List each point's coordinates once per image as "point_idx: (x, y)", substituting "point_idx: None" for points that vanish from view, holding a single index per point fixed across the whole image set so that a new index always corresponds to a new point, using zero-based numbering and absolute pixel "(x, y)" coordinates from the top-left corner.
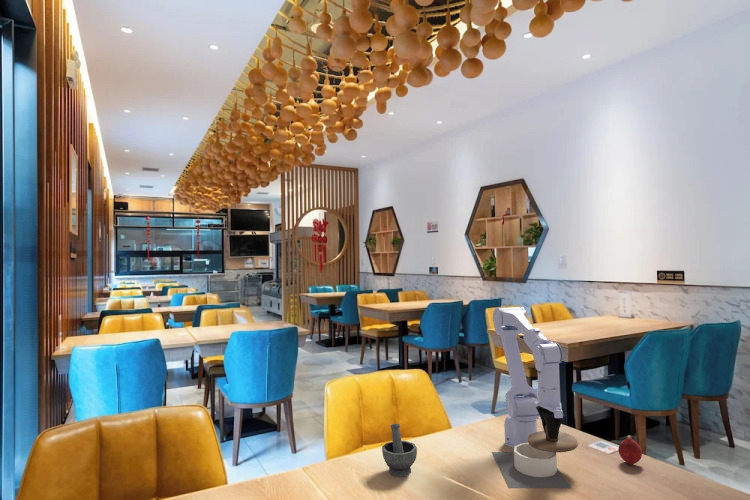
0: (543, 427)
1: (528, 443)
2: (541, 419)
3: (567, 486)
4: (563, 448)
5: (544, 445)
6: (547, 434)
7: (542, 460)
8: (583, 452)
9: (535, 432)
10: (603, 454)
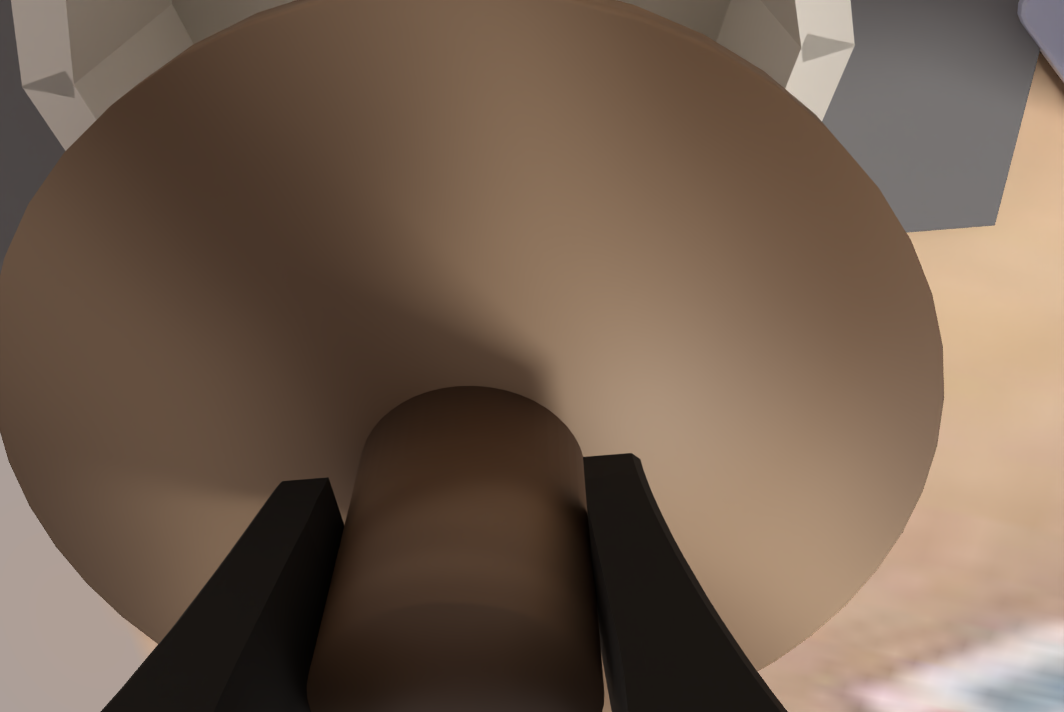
0: (608, 533)
1: (818, 7)
2: (689, 693)
3: None
4: (88, 552)
5: (146, 302)
6: (382, 498)
7: (58, 121)
8: (912, 560)
9: (910, 265)
10: (841, 666)
